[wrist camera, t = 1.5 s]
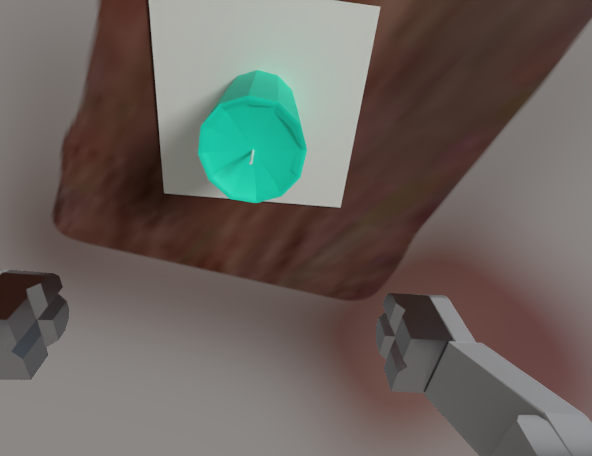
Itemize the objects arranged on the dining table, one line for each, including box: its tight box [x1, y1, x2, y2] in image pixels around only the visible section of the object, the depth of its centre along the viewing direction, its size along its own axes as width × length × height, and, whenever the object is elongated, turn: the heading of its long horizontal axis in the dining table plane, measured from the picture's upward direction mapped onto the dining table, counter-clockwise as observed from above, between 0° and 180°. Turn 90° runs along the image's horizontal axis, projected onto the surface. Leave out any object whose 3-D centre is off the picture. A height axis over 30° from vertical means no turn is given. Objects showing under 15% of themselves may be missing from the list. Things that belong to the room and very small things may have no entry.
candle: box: [198, 70, 307, 203], centre depth 23 cm, size 6×6×12 cm
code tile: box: [149, 0, 380, 208], centre depth 28 cm, size 16×16×1 cm
